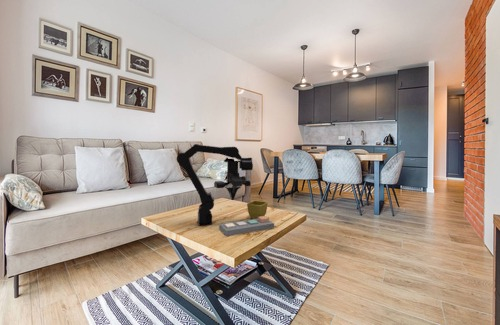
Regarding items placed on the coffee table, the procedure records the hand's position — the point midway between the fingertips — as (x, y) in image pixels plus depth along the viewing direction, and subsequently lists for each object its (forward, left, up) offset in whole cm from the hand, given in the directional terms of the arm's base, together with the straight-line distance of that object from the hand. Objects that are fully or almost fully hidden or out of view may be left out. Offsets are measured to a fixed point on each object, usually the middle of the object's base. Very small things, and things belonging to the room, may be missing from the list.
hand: (232, 199), depth 120 cm
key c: (+6, -12, -12) cm, 18 cm away
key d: (+12, -12, -11) cm, 20 cm away
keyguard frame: (+3, -12, -12) cm, 17 cm away
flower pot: (+15, 0, -12) cm, 19 cm away
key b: (0, -12, -12) cm, 17 cm away
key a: (-6, -12, -12) cm, 18 cm away
